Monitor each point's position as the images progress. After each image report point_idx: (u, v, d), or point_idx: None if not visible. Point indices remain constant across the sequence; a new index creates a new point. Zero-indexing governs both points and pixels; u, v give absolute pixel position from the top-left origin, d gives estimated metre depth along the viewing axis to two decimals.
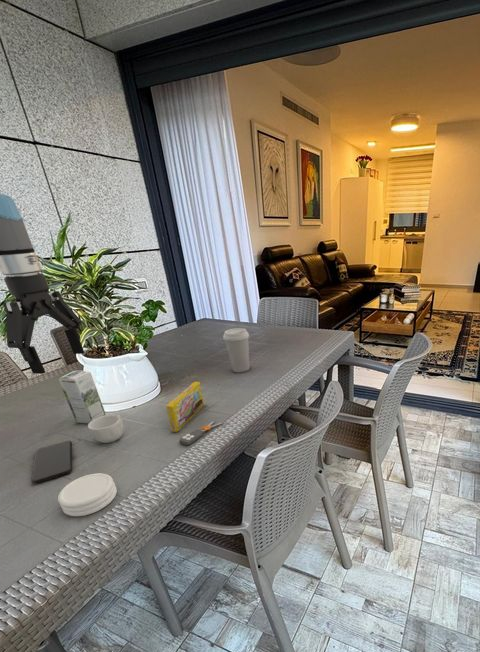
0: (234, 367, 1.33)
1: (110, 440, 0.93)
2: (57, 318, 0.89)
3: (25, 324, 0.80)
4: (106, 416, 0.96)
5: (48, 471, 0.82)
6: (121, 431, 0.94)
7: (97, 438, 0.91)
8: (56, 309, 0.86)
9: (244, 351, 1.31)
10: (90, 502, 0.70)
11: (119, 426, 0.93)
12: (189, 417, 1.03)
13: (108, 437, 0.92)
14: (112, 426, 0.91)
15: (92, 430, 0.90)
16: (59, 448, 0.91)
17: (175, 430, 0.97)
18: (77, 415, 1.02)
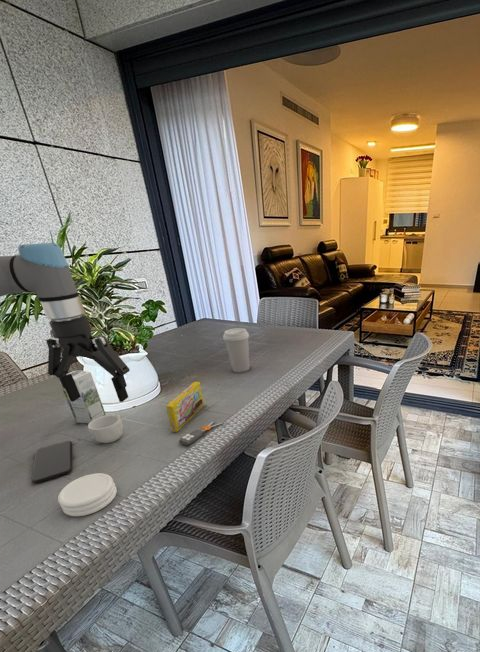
0: (234, 367, 1.33)
1: (110, 440, 0.93)
2: (67, 363, 0.86)
3: (104, 358, 0.85)
4: (106, 416, 0.96)
5: (48, 471, 0.82)
6: (121, 431, 0.94)
7: (97, 438, 0.91)
8: None
9: (244, 351, 1.31)
10: (90, 502, 0.70)
11: (119, 426, 0.93)
12: (189, 417, 1.03)
13: (108, 437, 0.92)
14: (112, 426, 0.91)
15: (92, 430, 0.90)
16: (59, 448, 0.91)
17: (175, 430, 0.97)
18: (77, 415, 1.02)
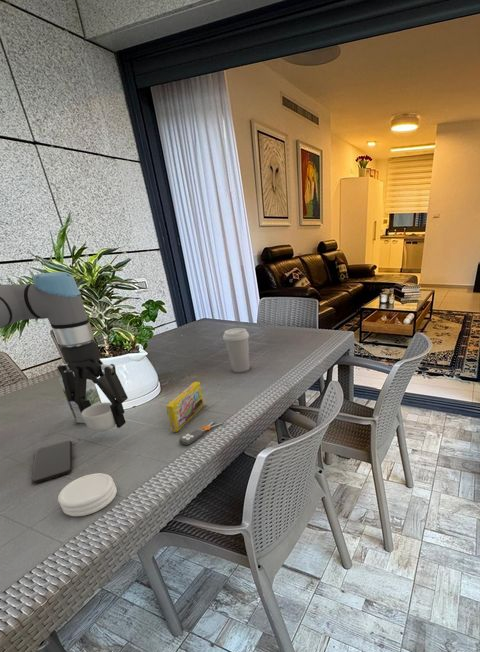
0: (234, 367, 1.33)
1: (104, 428, 0.91)
2: (82, 388, 0.89)
3: (107, 384, 0.89)
4: (100, 404, 0.94)
5: (48, 471, 0.82)
6: None
7: (90, 426, 0.90)
8: None
9: (244, 351, 1.31)
10: (90, 502, 0.70)
11: None
12: (189, 417, 1.03)
13: (102, 425, 0.90)
14: (106, 414, 0.89)
15: (85, 418, 0.88)
16: (59, 448, 0.91)
17: (175, 430, 0.97)
18: (77, 415, 1.02)
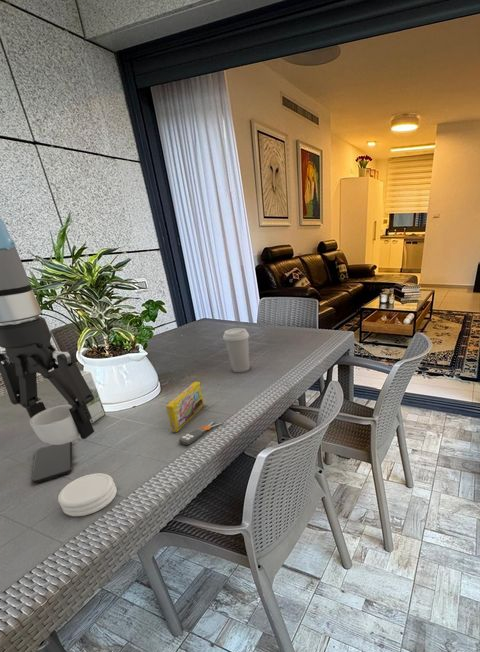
0: (234, 367, 1.33)
1: (62, 441, 0.66)
2: (30, 385, 0.64)
3: (64, 379, 0.64)
4: (59, 407, 0.69)
5: (48, 471, 0.82)
6: None
7: (43, 438, 0.65)
8: None
9: (244, 351, 1.31)
10: (90, 502, 0.70)
11: None
12: (189, 417, 1.03)
13: (59, 436, 0.65)
14: (64, 421, 0.64)
15: (34, 427, 0.63)
16: (59, 448, 0.91)
17: (175, 430, 0.97)
18: None
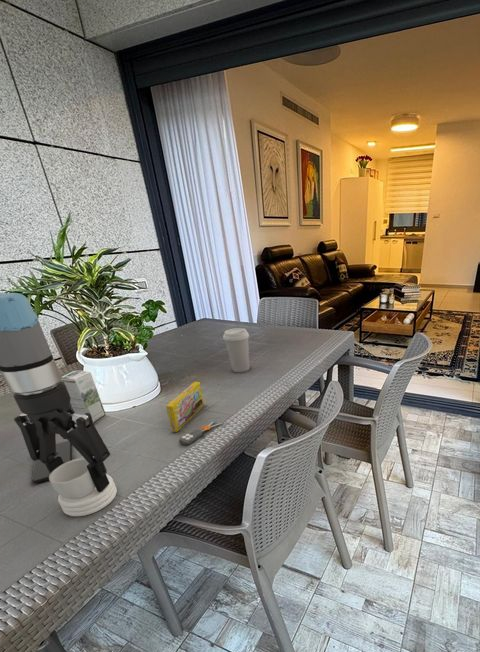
0: (234, 367, 1.33)
1: (80, 495, 0.69)
2: (49, 443, 0.67)
3: (82, 438, 0.67)
4: (76, 461, 0.72)
5: (48, 471, 0.82)
6: None
7: (61, 494, 0.68)
8: None
9: (244, 351, 1.31)
10: (90, 502, 0.70)
11: None
12: (189, 417, 1.03)
13: (76, 492, 0.68)
14: (82, 477, 0.67)
15: (54, 484, 0.66)
16: (59, 448, 0.91)
17: (175, 430, 0.97)
18: None
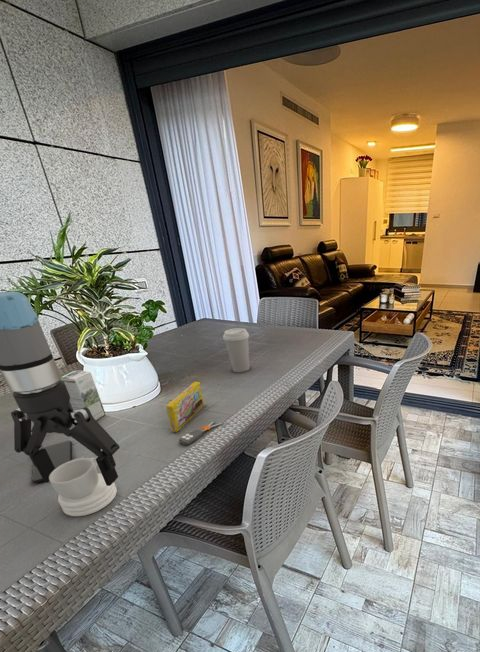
0: (234, 367, 1.33)
1: (80, 495, 0.69)
2: (39, 439, 0.67)
3: (86, 433, 0.66)
4: (76, 461, 0.72)
5: None
6: (95, 482, 0.71)
7: (62, 494, 0.68)
8: None
9: (244, 351, 1.31)
10: (90, 502, 0.70)
11: (92, 476, 0.70)
12: (189, 417, 1.03)
13: (77, 492, 0.68)
14: (82, 477, 0.67)
15: (54, 484, 0.66)
16: (59, 448, 0.91)
17: (175, 430, 0.97)
18: None
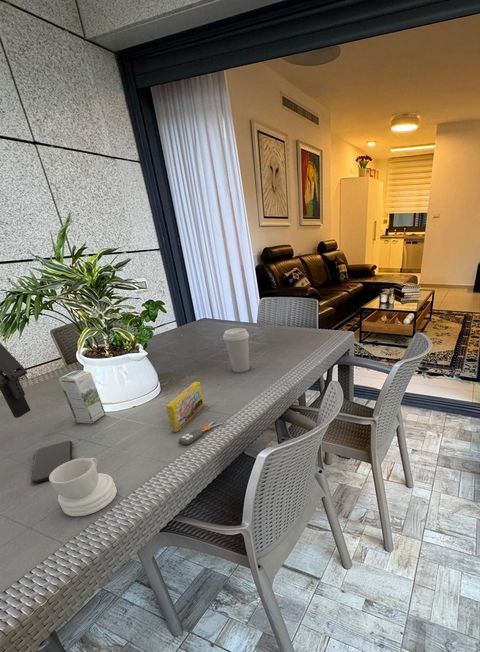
0: (234, 367, 1.33)
1: (80, 495, 0.69)
2: None
3: None
4: (76, 461, 0.72)
5: (48, 471, 0.82)
6: (95, 482, 0.71)
7: (62, 494, 0.68)
8: None
9: (244, 351, 1.31)
10: (90, 502, 0.70)
11: (92, 476, 0.70)
12: (189, 417, 1.03)
13: (77, 492, 0.68)
14: (82, 477, 0.67)
15: (54, 484, 0.66)
16: (59, 448, 0.91)
17: (175, 430, 0.97)
18: (77, 415, 1.02)
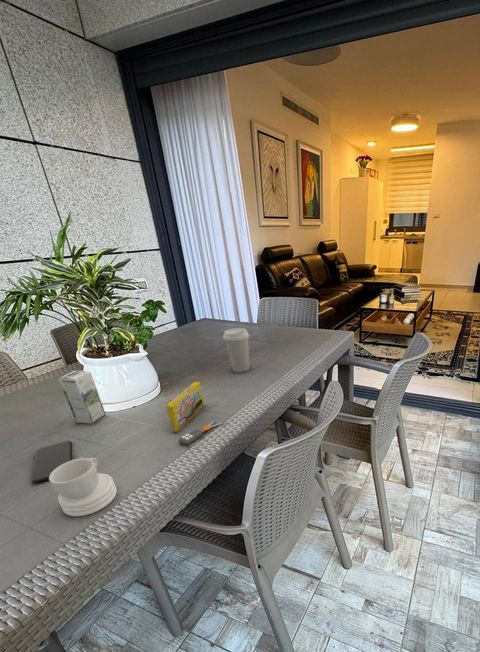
0: (234, 367, 1.33)
1: (80, 495, 0.69)
2: None
3: None
4: (76, 461, 0.72)
5: (48, 471, 0.82)
6: (95, 482, 0.71)
7: (62, 494, 0.68)
8: None
9: (244, 351, 1.31)
10: (90, 502, 0.70)
11: (92, 476, 0.70)
12: (189, 417, 1.03)
13: (77, 492, 0.68)
14: (82, 477, 0.67)
15: (54, 484, 0.66)
16: (59, 448, 0.91)
17: (175, 430, 0.97)
18: (77, 415, 1.02)
